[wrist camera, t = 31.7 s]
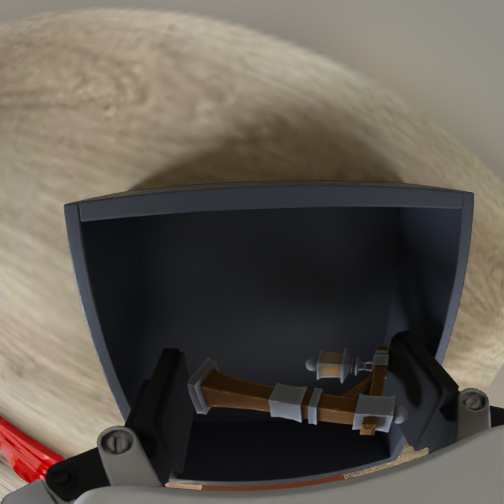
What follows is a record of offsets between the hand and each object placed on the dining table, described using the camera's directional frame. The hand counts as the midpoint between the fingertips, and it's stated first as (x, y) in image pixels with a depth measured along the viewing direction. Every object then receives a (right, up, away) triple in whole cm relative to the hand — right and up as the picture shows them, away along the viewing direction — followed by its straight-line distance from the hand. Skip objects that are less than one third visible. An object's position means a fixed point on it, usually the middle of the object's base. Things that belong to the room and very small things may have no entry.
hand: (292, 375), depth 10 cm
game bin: (0, +1, +4) cm, 4 cm away
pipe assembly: (0, 0, +1) cm, 1 cm away
